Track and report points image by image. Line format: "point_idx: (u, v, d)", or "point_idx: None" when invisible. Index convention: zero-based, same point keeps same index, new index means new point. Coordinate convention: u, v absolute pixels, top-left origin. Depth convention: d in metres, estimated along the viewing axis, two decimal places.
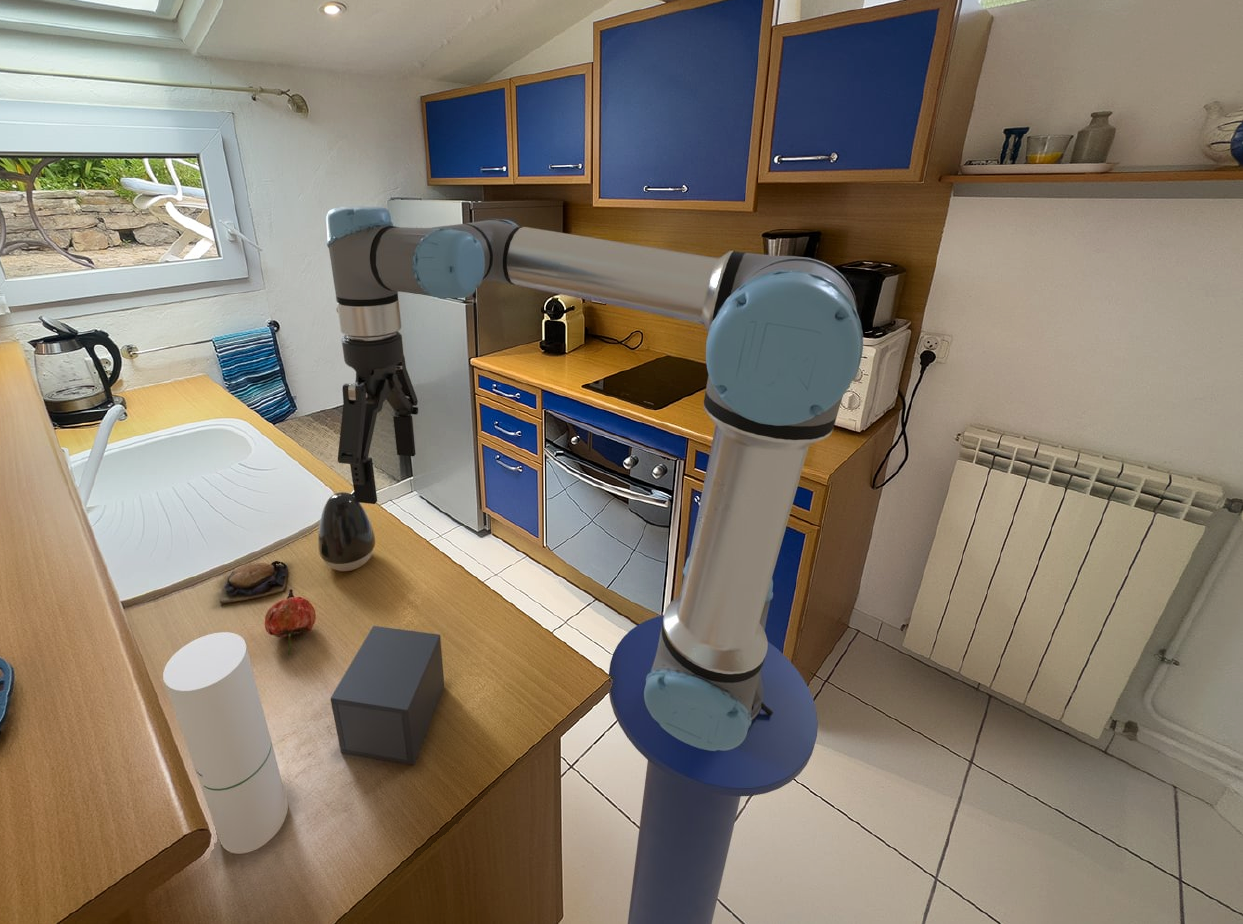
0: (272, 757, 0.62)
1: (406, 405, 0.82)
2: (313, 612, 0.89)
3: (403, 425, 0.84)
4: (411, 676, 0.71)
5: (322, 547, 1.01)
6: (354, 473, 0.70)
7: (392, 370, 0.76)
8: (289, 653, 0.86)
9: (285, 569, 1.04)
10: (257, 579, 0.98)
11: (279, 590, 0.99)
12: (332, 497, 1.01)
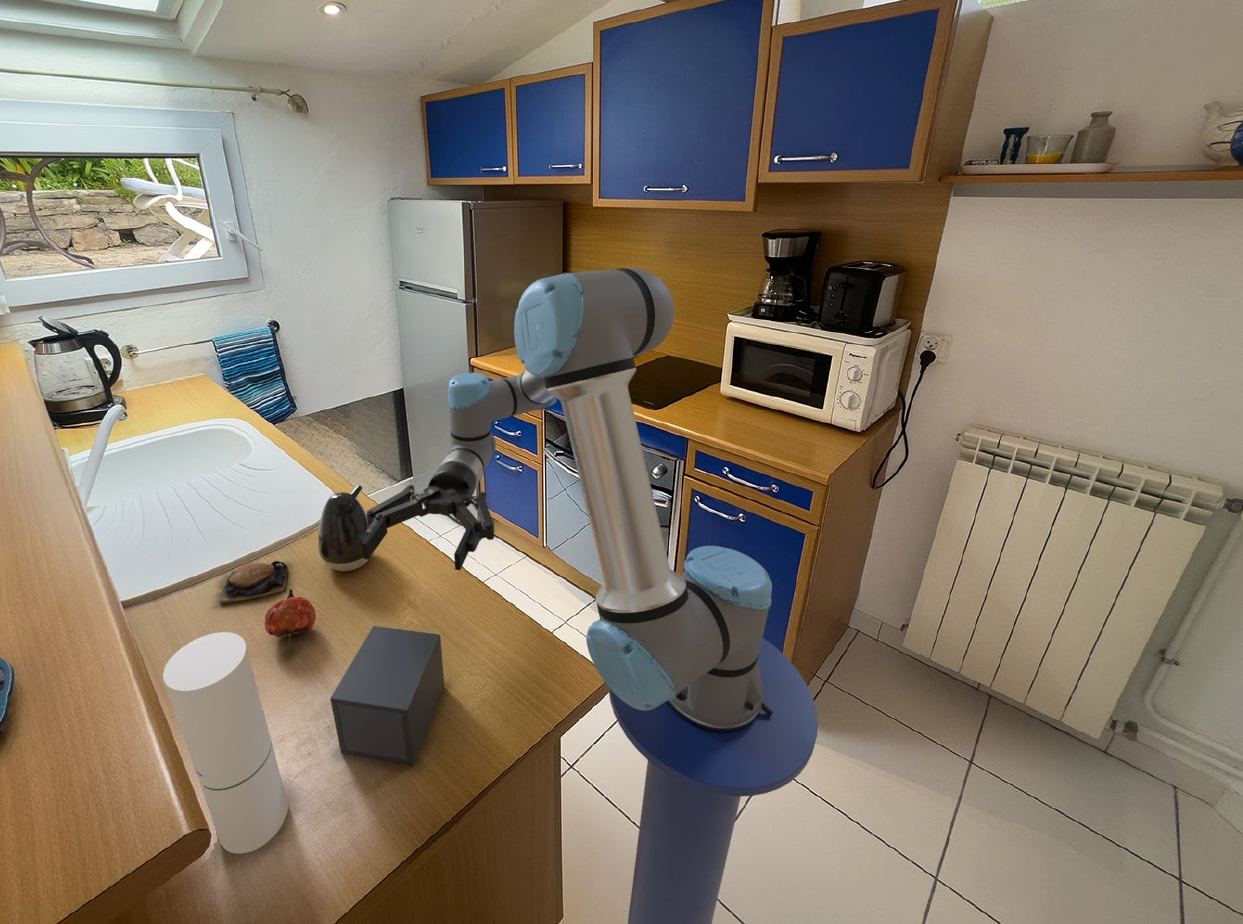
0: (272, 757, 0.62)
1: (468, 518, 0.85)
2: (313, 612, 0.89)
3: None
4: (411, 676, 0.71)
5: (322, 547, 1.01)
6: None
7: (460, 494, 0.91)
8: (289, 653, 0.86)
9: (285, 569, 1.04)
10: (257, 579, 0.98)
11: (279, 590, 0.99)
12: (332, 497, 1.01)
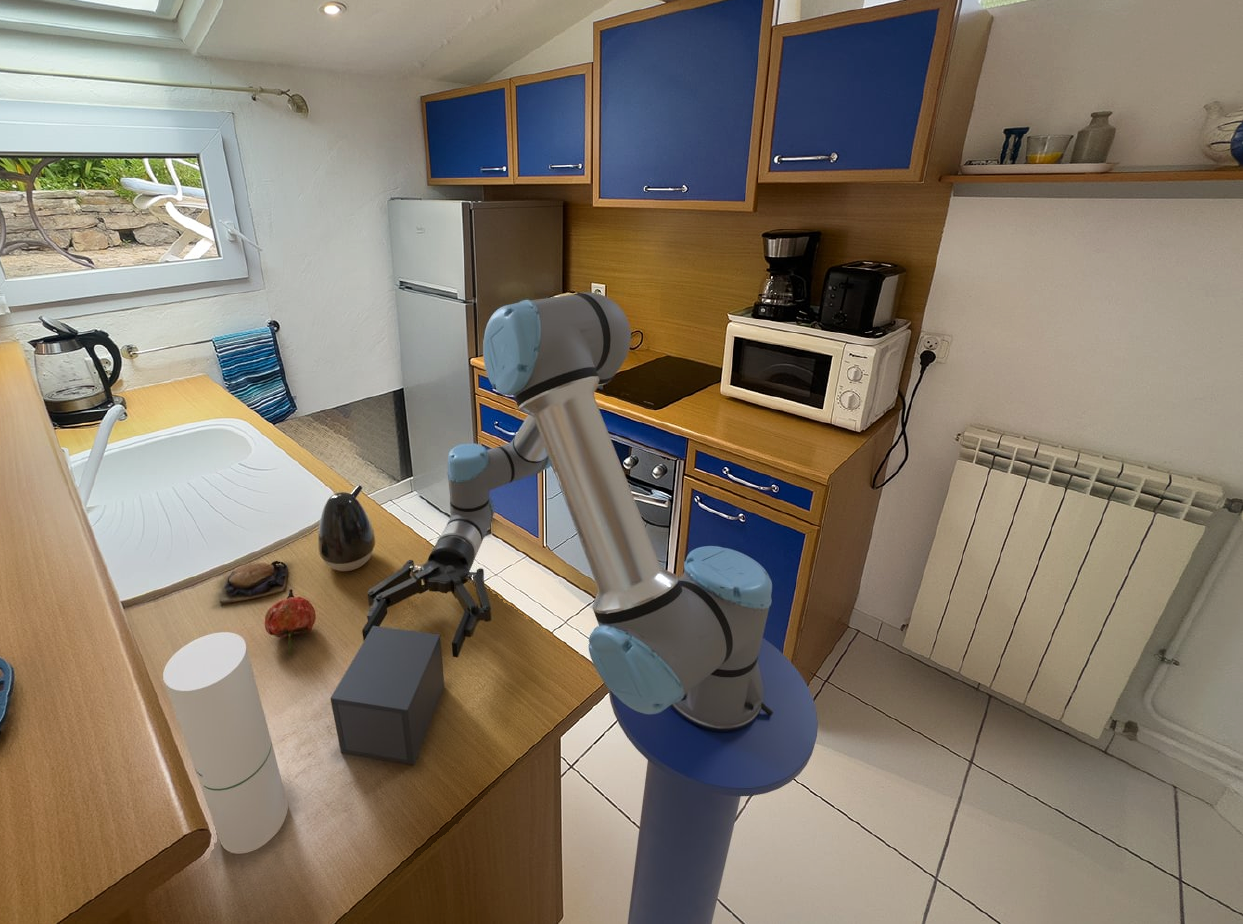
0: (272, 757, 0.62)
1: (466, 600, 0.87)
2: (313, 612, 0.89)
3: None
4: (411, 676, 0.71)
5: (322, 547, 1.01)
6: None
7: (458, 570, 0.93)
8: (289, 653, 0.86)
9: (285, 569, 1.04)
10: (257, 579, 0.98)
11: (279, 590, 0.99)
12: (332, 497, 1.01)
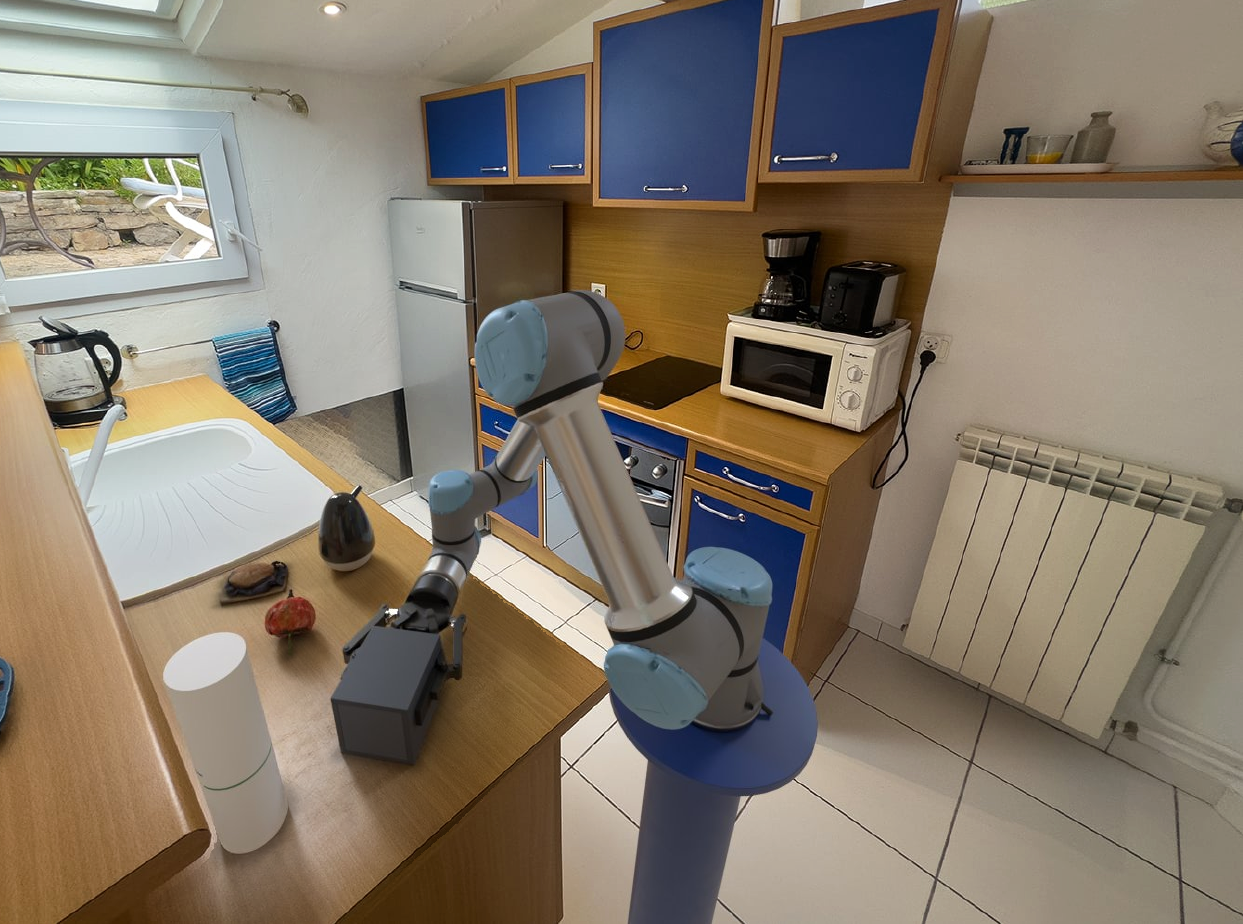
0: (272, 757, 0.62)
1: None
2: (313, 612, 0.89)
3: None
4: (411, 676, 0.71)
5: (322, 547, 1.01)
6: None
7: (439, 614, 0.84)
8: (289, 653, 0.86)
9: (285, 569, 1.04)
10: (257, 579, 0.98)
11: (279, 590, 0.99)
12: (332, 497, 1.01)
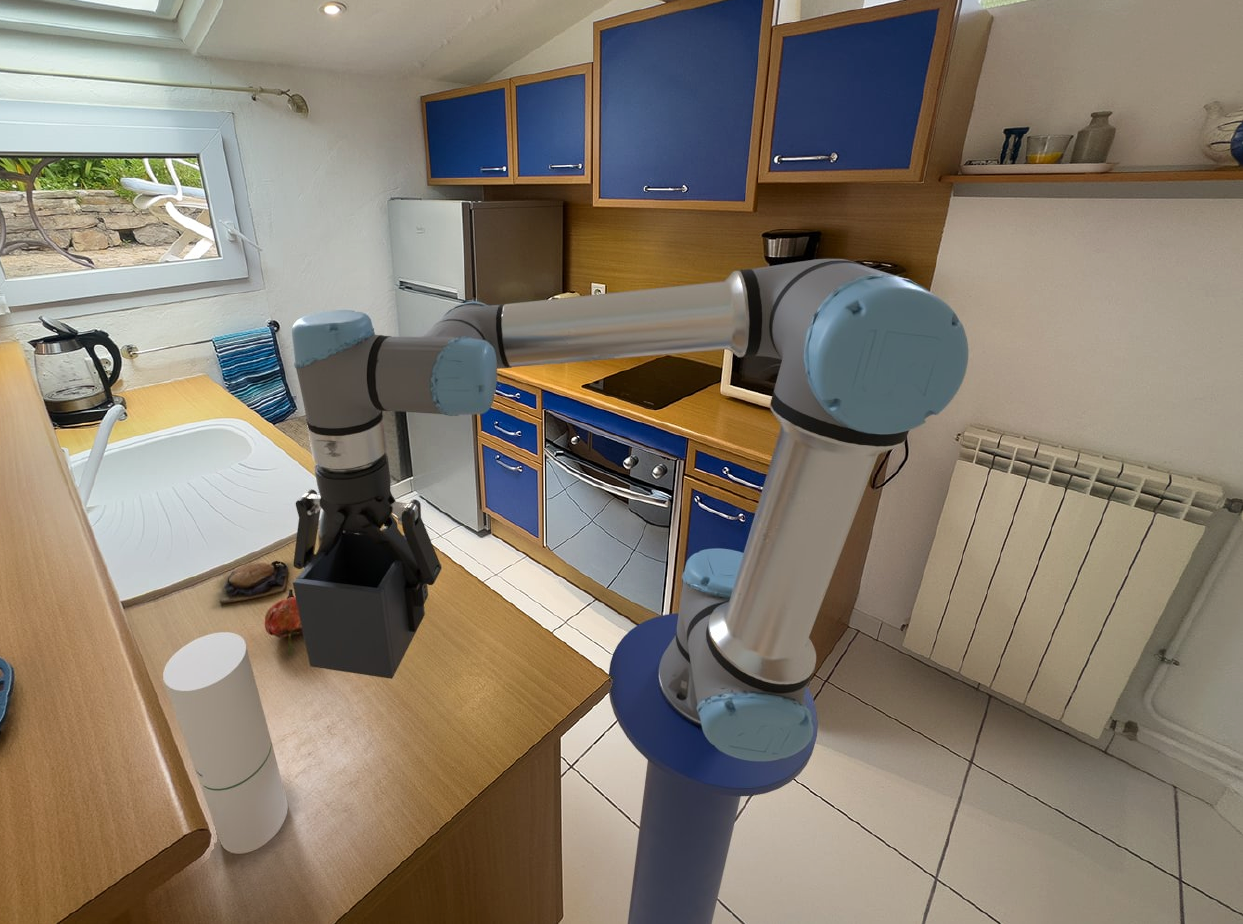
0: (272, 757, 0.62)
1: None
2: None
3: None
4: None
5: None
6: (424, 593, 0.65)
7: None
8: (289, 653, 0.86)
9: (285, 569, 1.04)
10: (257, 579, 0.98)
11: (279, 590, 0.99)
12: None
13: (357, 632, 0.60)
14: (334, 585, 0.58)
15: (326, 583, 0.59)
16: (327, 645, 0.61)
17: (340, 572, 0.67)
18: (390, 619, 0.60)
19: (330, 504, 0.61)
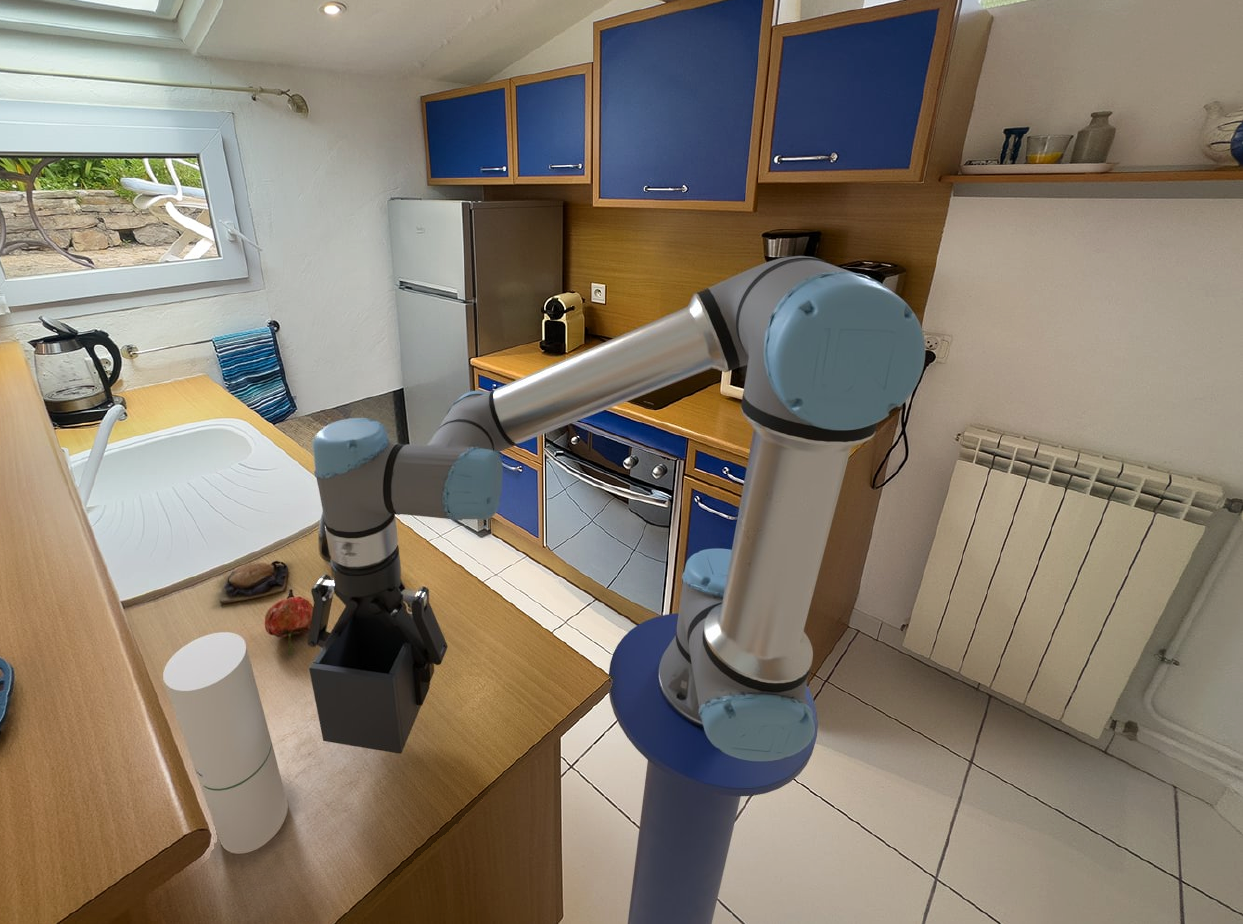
0: (272, 757, 0.62)
1: None
2: None
3: None
4: None
5: (322, 547, 1.01)
6: (431, 670, 0.69)
7: None
8: (289, 653, 0.86)
9: (285, 569, 1.04)
10: (257, 579, 0.98)
11: (279, 590, 0.99)
12: None
13: (369, 712, 0.64)
14: (348, 671, 0.62)
15: (341, 669, 0.63)
16: (340, 723, 0.65)
17: (351, 647, 0.71)
18: (400, 700, 0.64)
19: None
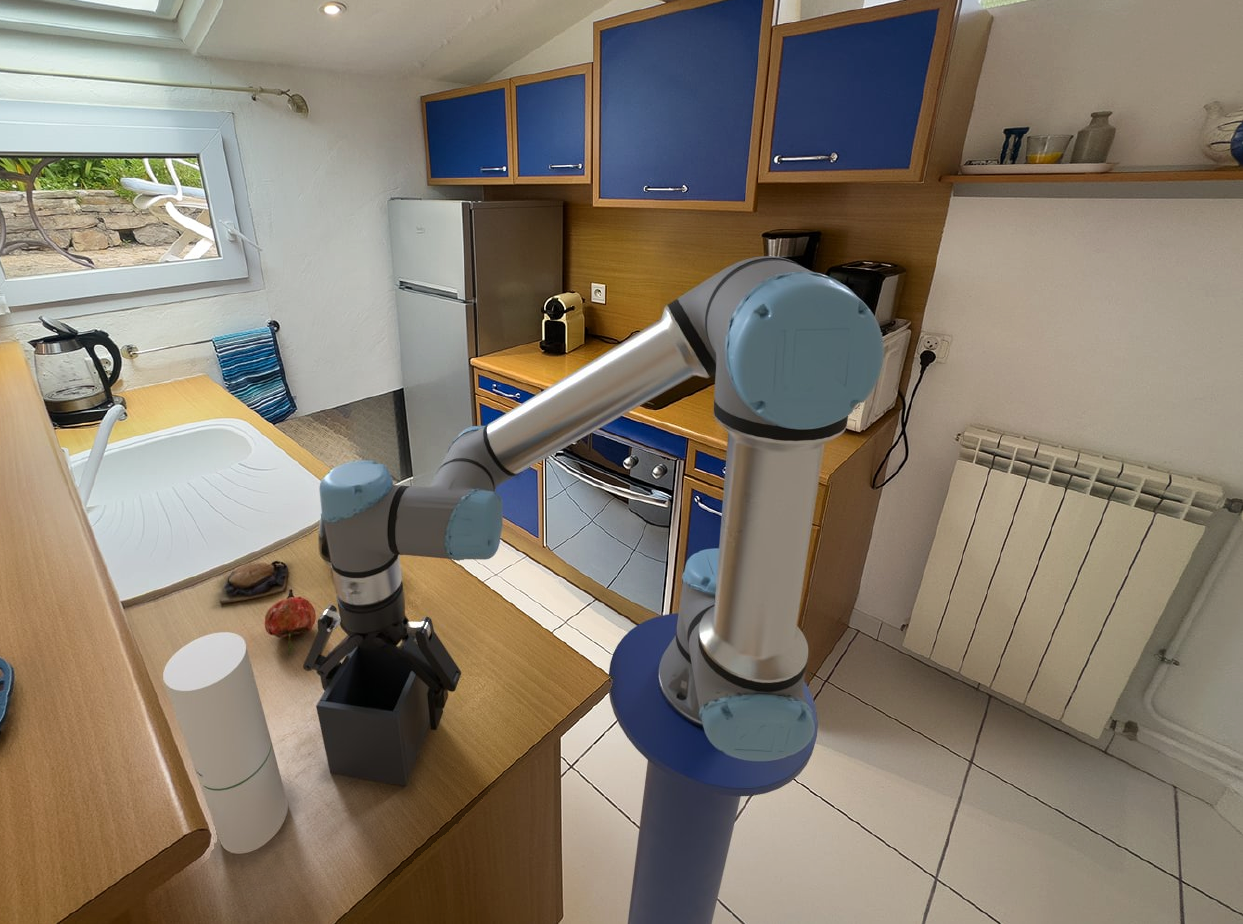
0: (272, 757, 0.62)
1: None
2: (313, 612, 0.89)
3: None
4: None
5: (322, 547, 1.01)
6: (445, 696, 0.70)
7: None
8: (289, 653, 0.86)
9: (285, 569, 1.04)
10: (257, 579, 0.98)
11: (279, 590, 0.99)
12: None
13: (374, 748, 0.66)
14: (354, 709, 0.64)
15: (347, 706, 0.65)
16: (346, 757, 0.68)
17: (356, 681, 0.73)
18: (404, 736, 0.66)
19: None
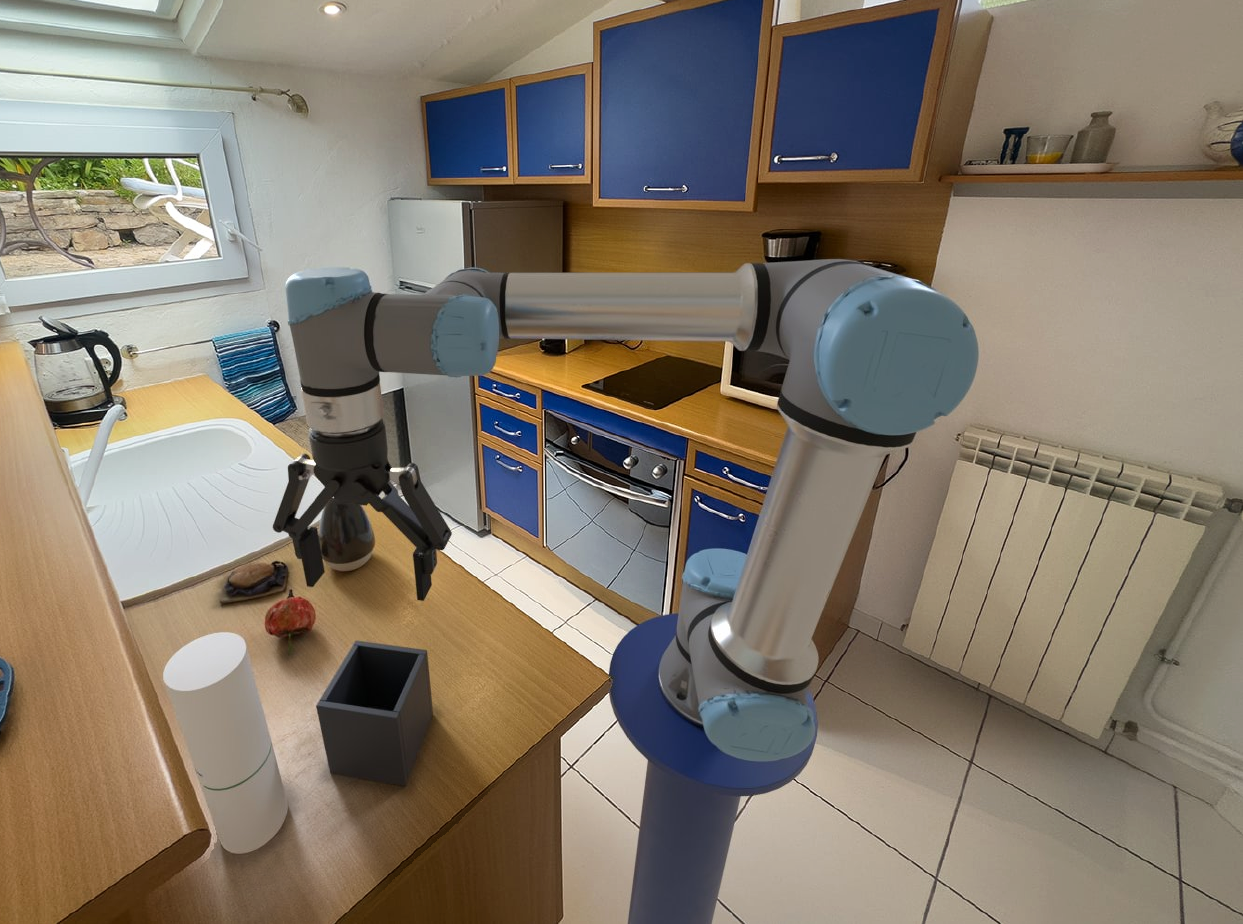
0: (272, 757, 0.62)
1: None
2: (313, 612, 0.89)
3: (313, 543, 0.64)
4: None
5: (322, 547, 1.01)
6: (433, 559, 0.62)
7: None
8: (289, 653, 0.86)
9: (285, 569, 1.04)
10: (257, 579, 0.98)
11: (279, 590, 0.99)
12: None
13: (374, 748, 0.66)
14: (354, 709, 0.64)
15: (347, 706, 0.65)
16: (346, 757, 0.68)
17: (356, 681, 0.73)
18: (404, 736, 0.66)
19: (325, 472, 0.59)
